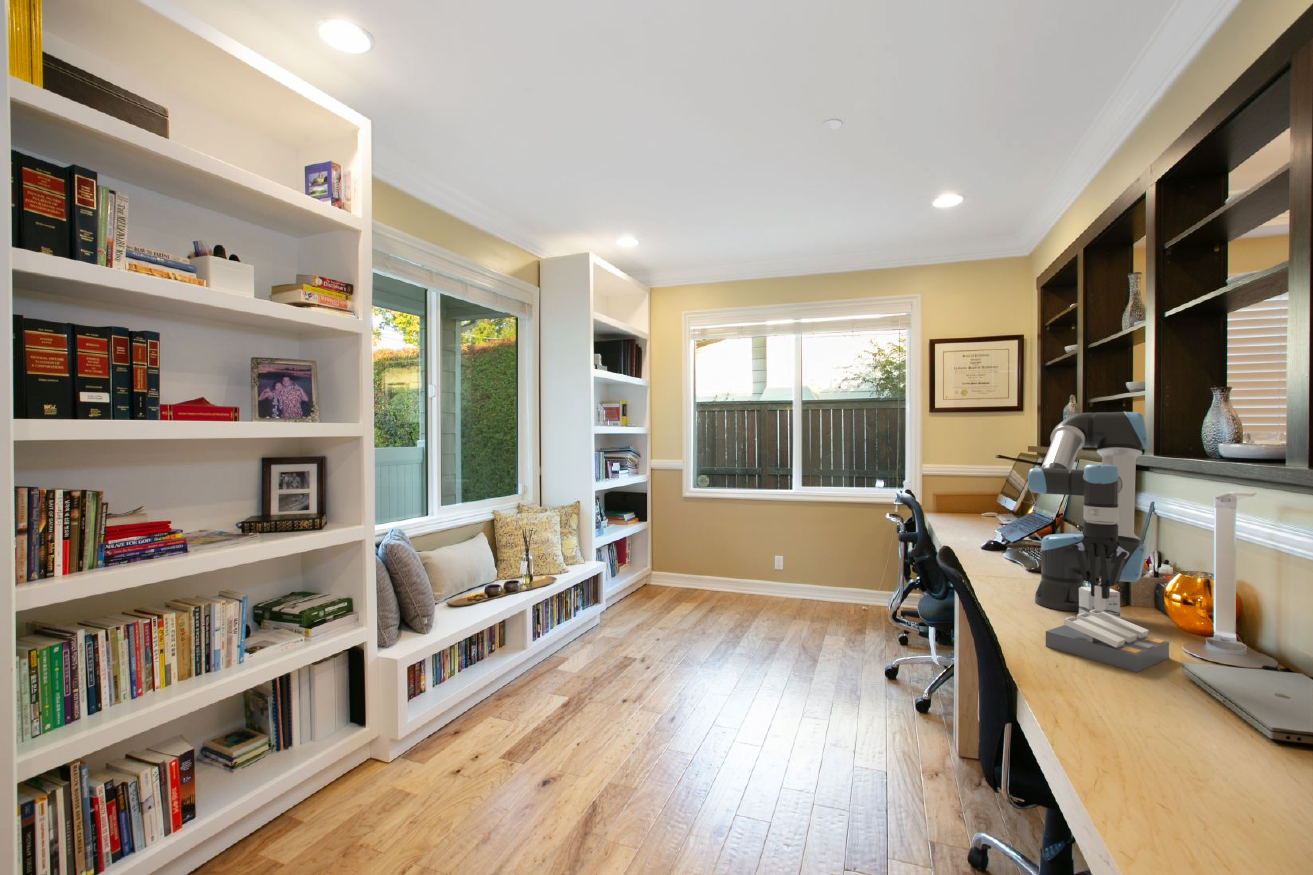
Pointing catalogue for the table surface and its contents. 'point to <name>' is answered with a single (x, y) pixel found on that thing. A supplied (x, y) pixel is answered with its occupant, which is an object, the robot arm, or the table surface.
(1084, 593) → the ink box
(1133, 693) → the table surface
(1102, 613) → the rocker
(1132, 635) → the rocker
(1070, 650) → the gray compartment tray
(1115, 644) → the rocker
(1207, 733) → the table surface
